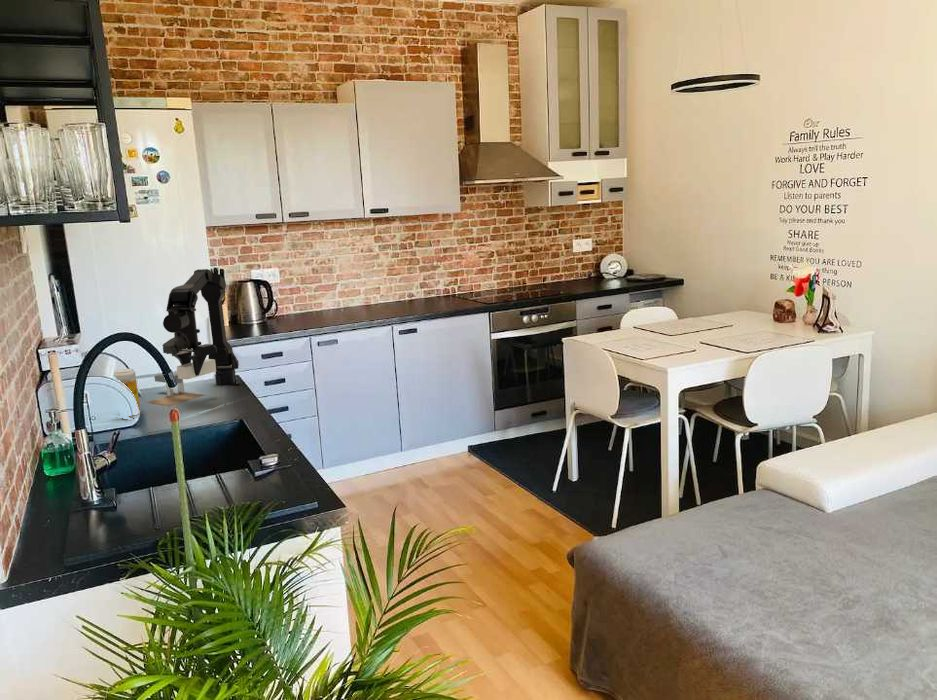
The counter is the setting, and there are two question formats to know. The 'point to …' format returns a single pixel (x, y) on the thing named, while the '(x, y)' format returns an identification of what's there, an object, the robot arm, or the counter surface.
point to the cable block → (188, 369)
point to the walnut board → (175, 399)
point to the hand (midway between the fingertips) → (192, 375)
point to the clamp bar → (161, 379)
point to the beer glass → (128, 381)
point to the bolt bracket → (180, 387)
